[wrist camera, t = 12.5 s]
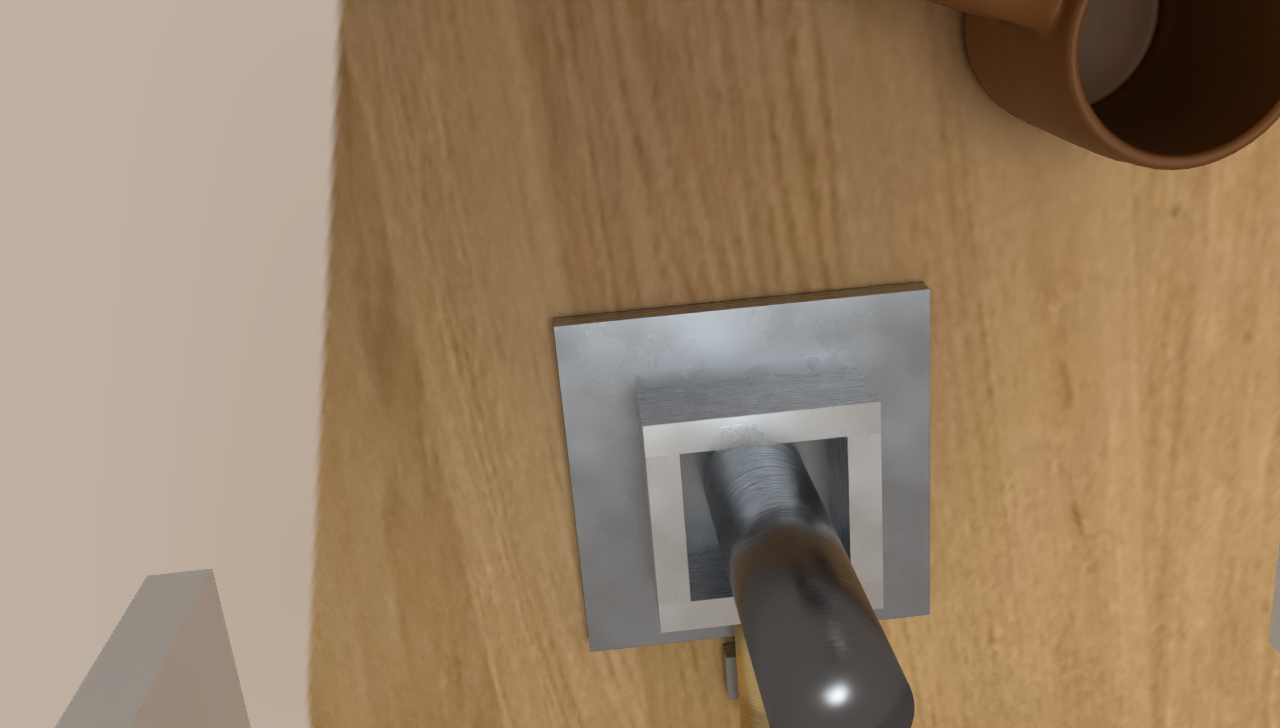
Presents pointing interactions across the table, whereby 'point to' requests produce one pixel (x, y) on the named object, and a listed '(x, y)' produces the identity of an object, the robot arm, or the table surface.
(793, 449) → the dark cylinder
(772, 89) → the table surface
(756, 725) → the open box on baseplate
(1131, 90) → the mug
